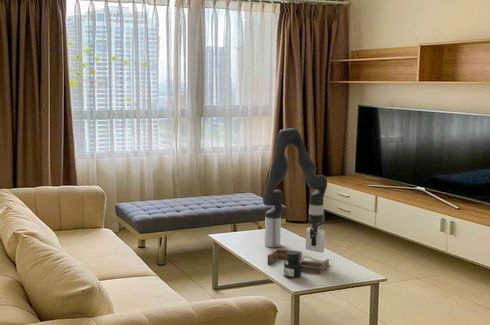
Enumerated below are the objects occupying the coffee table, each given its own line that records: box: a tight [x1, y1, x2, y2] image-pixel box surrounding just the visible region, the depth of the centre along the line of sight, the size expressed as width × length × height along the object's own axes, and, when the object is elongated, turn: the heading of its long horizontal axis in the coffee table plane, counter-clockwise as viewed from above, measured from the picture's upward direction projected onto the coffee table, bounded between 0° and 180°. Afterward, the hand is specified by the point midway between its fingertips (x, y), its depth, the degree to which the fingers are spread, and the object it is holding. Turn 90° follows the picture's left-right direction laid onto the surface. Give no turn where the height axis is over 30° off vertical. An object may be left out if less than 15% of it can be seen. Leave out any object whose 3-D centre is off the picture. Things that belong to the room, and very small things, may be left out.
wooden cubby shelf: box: [267, 247, 302, 265], centre depth 318 cm, size 14×14×5 cm
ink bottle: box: [283, 250, 303, 279], centre depth 297 cm, size 10×9×12 cm
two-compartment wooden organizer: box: [300, 255, 330, 275], centre depth 311 cm, size 17×13×3 cm
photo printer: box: [305, 227, 326, 254], centre depth 313 cm, size 10×4×12 cm, turn 56°
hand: (315, 244), depth 313 cm, fingers closed on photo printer, 4 cm apart
